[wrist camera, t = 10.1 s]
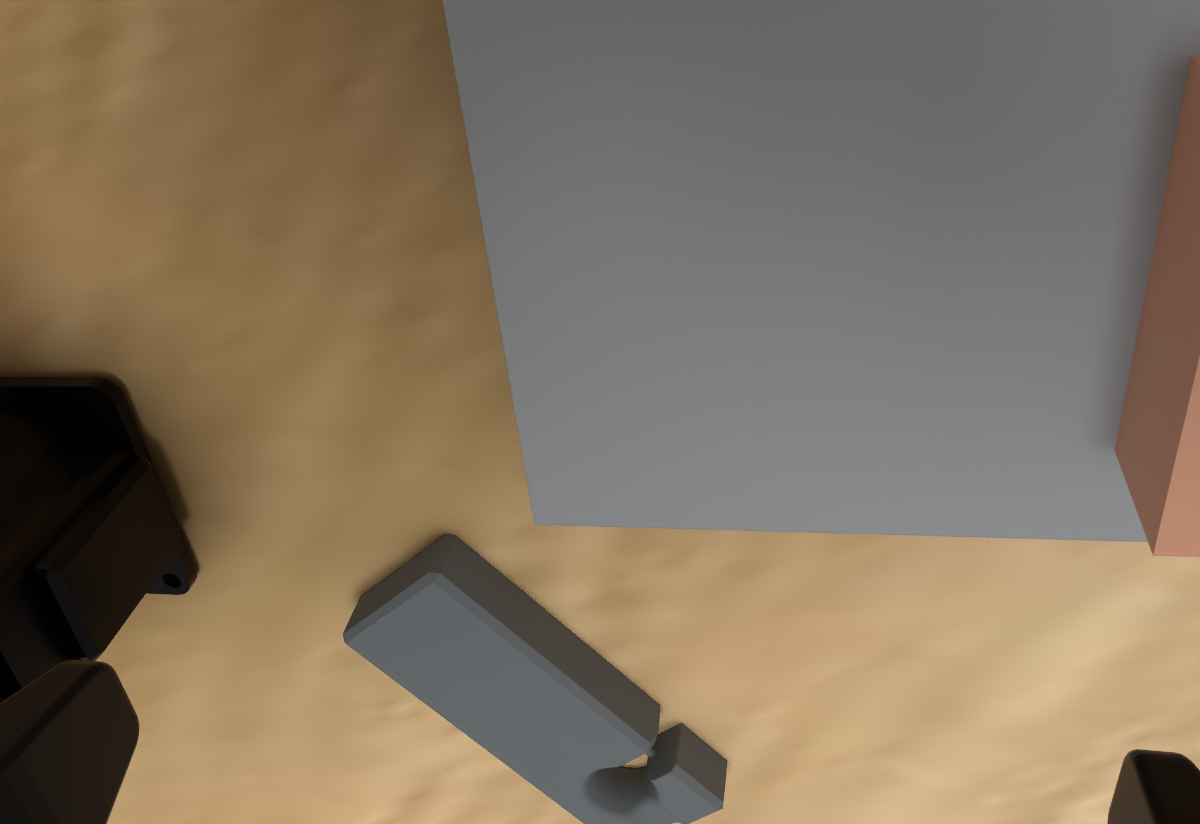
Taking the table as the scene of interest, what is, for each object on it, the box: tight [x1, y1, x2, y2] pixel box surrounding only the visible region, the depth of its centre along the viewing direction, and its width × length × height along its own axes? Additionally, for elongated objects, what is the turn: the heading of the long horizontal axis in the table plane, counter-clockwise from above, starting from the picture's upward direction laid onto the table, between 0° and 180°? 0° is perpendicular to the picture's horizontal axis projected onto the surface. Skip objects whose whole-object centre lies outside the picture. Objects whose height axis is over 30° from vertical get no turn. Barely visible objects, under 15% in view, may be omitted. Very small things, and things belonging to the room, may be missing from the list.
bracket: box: [343, 534, 727, 824], centre depth 29 cm, size 4×10×2 cm, turn 45°
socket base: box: [442, 0, 1200, 557], centre depth 18 cm, size 19×12×4 cm, turn 96°
